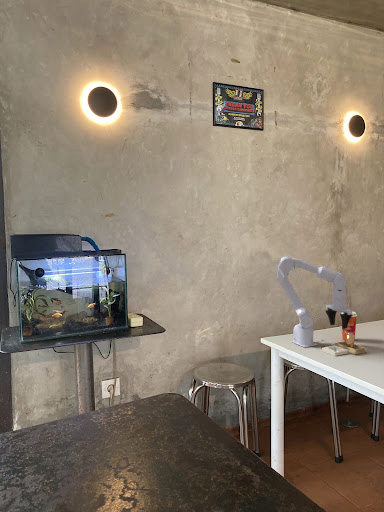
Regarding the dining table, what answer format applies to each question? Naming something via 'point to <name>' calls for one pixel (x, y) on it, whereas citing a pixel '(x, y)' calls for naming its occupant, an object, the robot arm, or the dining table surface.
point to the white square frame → (335, 353)
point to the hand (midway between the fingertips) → (338, 326)
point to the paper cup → (350, 326)
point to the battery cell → (350, 340)
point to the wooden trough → (354, 351)
